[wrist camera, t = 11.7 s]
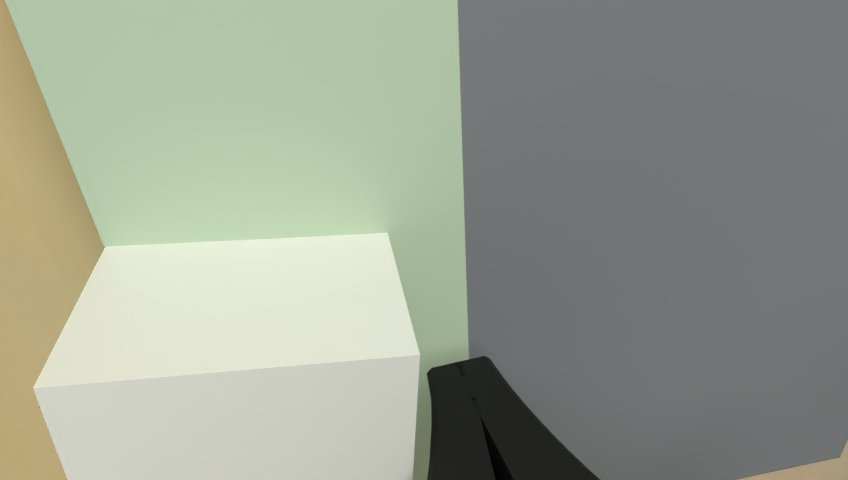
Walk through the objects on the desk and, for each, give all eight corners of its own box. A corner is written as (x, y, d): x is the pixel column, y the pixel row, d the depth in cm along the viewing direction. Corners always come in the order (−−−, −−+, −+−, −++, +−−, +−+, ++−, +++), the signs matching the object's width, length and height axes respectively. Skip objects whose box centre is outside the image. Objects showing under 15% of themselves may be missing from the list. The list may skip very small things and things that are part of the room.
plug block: (387, 232, 12) (420, 355, 9) (383, 419, 14) (407, 563, 11) (105, 246, 11) (33, 387, 8) (155, 443, 13) (114, 606, 10)
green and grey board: (1285, -730, 8) (1404, -803, 7) (815, 432, 19) (839, 457, 18) (-277, -826, 6) (-377, -949, 5) (242, 550, 17) (240, 585, 16)
